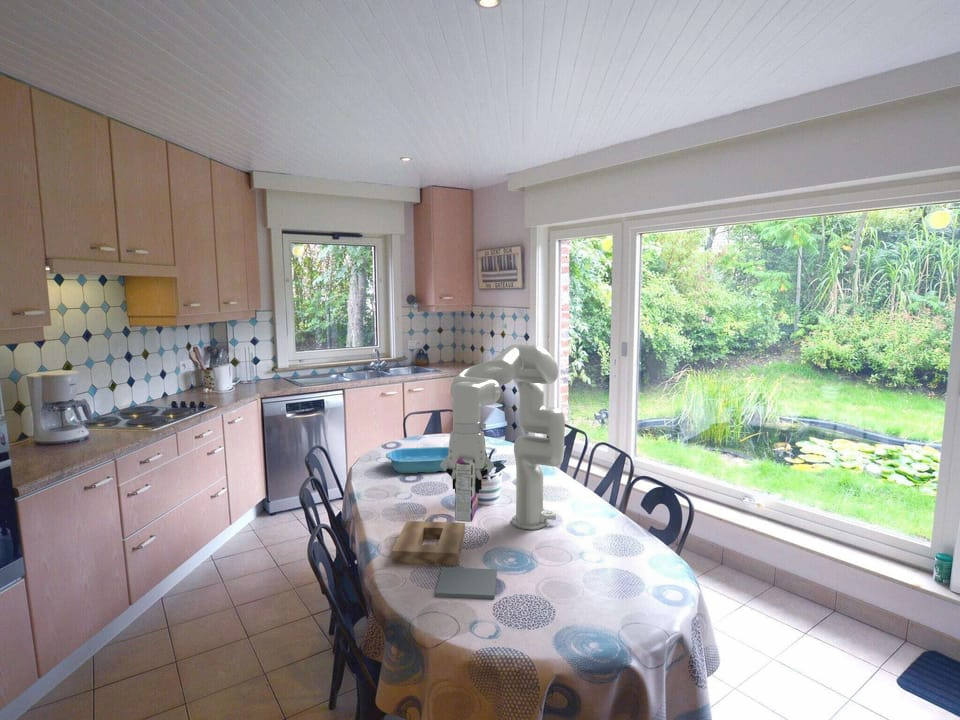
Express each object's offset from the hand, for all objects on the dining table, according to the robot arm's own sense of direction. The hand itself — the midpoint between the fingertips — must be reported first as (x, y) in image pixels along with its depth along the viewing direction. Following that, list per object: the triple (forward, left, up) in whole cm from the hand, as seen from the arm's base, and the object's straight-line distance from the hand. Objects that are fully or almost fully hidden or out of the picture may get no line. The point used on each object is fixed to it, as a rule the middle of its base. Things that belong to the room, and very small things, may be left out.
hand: (467, 491), depth 151 cm
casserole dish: (+30, -103, -28) cm, 110 cm away
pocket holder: (+14, -21, -27) cm, 37 cm away
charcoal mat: (0, 0, -27) cm, 27 cm away
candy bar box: (0, 0, -7) cm, 7 cm away
